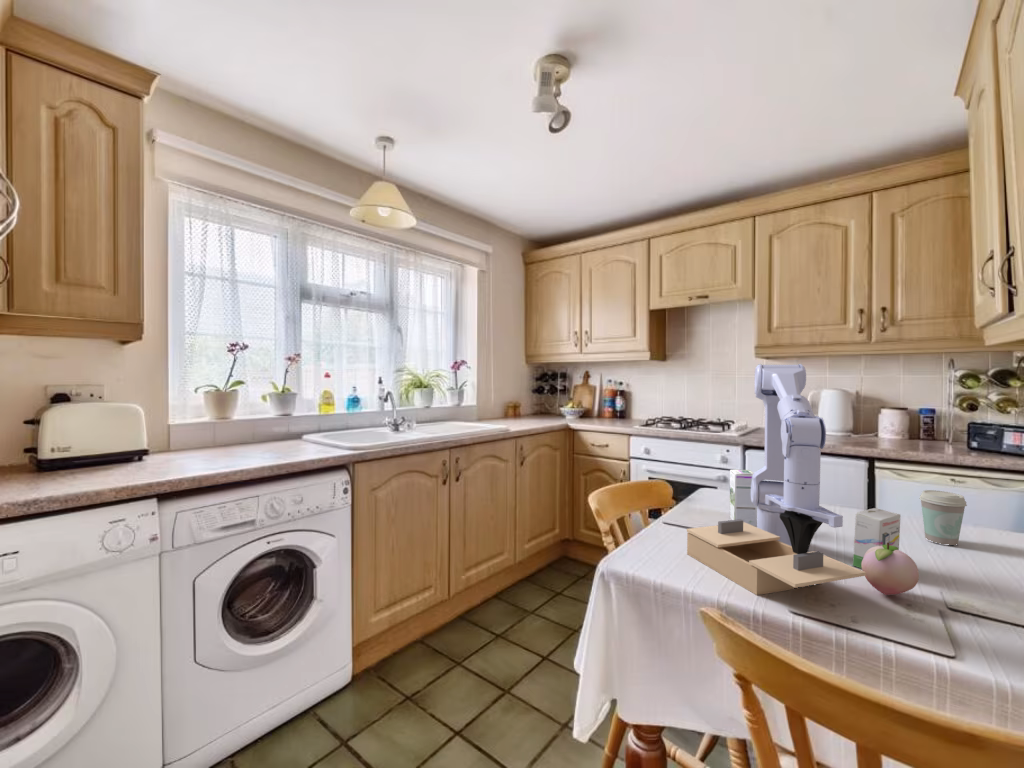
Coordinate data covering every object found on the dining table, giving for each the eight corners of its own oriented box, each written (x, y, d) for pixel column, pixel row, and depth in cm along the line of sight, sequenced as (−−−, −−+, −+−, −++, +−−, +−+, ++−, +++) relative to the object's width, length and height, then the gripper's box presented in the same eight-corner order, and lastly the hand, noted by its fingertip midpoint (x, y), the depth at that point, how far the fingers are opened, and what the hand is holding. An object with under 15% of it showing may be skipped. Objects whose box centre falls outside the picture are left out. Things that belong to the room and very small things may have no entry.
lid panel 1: (744, 524, 109) (744, 512, 109) (780, 539, 99) (780, 525, 99) (686, 531, 104) (686, 518, 104) (718, 547, 94) (718, 533, 94)
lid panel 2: (814, 554, 91) (815, 539, 91) (866, 575, 82) (866, 558, 82) (748, 563, 87) (749, 547, 86) (795, 587, 77) (795, 569, 77)
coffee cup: (927, 545, 110) (929, 496, 110) (912, 533, 118) (913, 488, 118) (973, 550, 107) (975, 500, 106) (954, 538, 115) (955, 491, 114)
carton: (743, 546, 109) (743, 526, 109) (821, 584, 90) (822, 559, 89) (687, 554, 104) (687, 532, 104) (756, 595, 85) (757, 569, 85)
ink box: (872, 558, 102) (873, 506, 102) (900, 567, 98) (901, 513, 97) (851, 566, 98) (852, 512, 98) (879, 575, 94) (881, 519, 93)
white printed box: (757, 527, 122) (758, 474, 122) (734, 525, 124) (734, 473, 123) (750, 520, 128) (751, 469, 128) (728, 519, 129) (729, 468, 129)
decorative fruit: (917, 613, 79) (919, 556, 79) (858, 597, 85) (860, 544, 84) (918, 594, 86) (920, 541, 86) (864, 580, 91) (865, 531, 91)
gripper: (753, 474, 91) (752, 541, 91) (821, 492, 77) (819, 571, 77) (781, 471, 93) (780, 537, 93) (852, 489, 79) (850, 566, 79)
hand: (800, 552), depth 85 cm, fingers closed
